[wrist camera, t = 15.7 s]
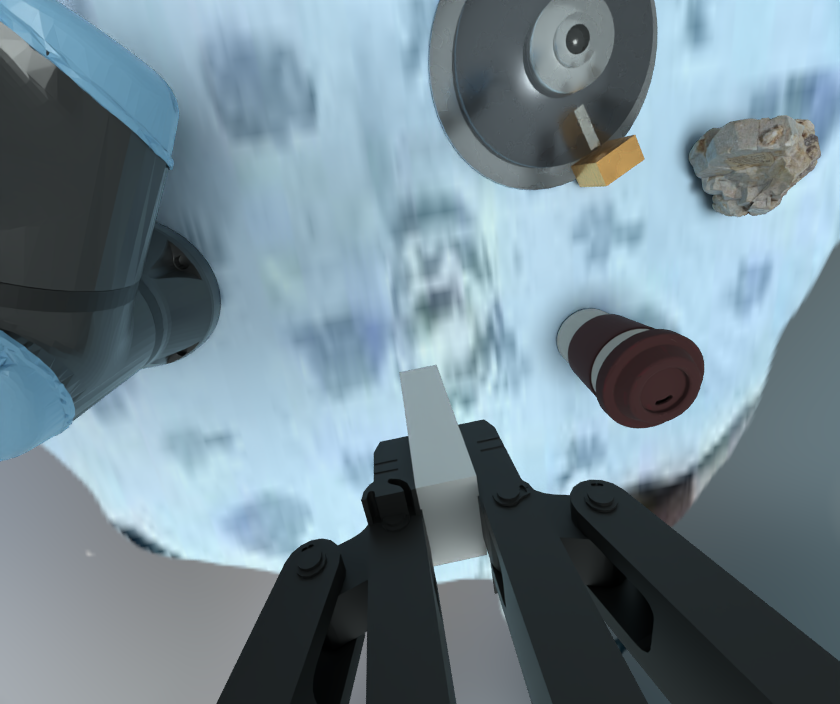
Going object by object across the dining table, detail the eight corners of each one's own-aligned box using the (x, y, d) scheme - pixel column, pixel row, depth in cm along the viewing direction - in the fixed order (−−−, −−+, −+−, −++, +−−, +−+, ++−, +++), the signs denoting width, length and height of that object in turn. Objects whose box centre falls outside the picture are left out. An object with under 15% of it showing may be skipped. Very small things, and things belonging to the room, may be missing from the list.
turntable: (523, 227, 42) (542, 231, 37) (412, 27, 34) (418, 1, 30) (674, 119, 39) (714, 109, 35) (591, -122, 32) (628, -176, 27)
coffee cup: (557, 292, 46) (635, 334, 32) (632, 301, 47) (738, 346, 34) (536, 367, 50) (598, 435, 36) (606, 374, 51) (692, 441, 37)
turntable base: (405, 158, 39) (406, 158, 38) (465, -137, 31) (467, -143, 31) (599, 212, 43) (601, 212, 42) (693, -38, 35) (698, -42, 35)
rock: (700, 219, 47) (817, 204, 40) (675, 230, 40) (813, 213, 33) (702, 138, 45) (827, 106, 38) (676, 133, 37) (826, 91, 30)
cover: (545, 115, 36) (560, 108, 33) (508, 39, 34) (520, 24, 31) (611, 64, 35) (632, 52, 32) (577, -19, 33) (597, -40, 30)
